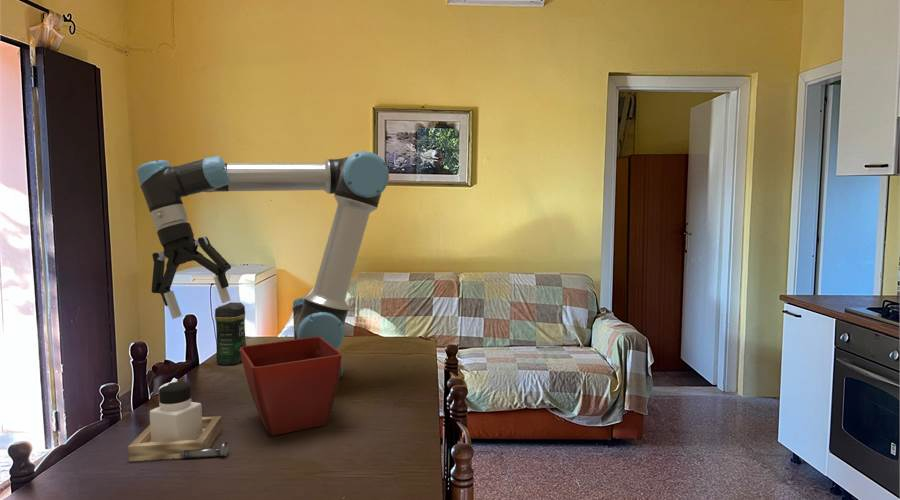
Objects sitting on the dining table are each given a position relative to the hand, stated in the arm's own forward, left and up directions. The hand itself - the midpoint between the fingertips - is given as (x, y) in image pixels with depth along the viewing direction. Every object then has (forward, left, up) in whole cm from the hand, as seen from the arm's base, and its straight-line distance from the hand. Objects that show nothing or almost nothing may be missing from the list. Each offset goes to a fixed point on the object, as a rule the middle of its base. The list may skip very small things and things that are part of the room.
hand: (201, 309), depth 140 cm
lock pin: (-7, +28, -24) cm, 38 cm away
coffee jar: (+4, -42, -25) cm, 49 cm away
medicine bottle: (0, +21, -24) cm, 32 cm away
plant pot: (-22, +12, -25) cm, 35 cm away
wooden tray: (0, +21, -24) cm, 32 cm away
